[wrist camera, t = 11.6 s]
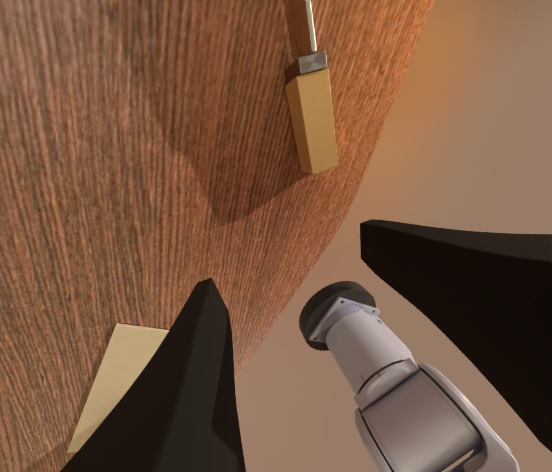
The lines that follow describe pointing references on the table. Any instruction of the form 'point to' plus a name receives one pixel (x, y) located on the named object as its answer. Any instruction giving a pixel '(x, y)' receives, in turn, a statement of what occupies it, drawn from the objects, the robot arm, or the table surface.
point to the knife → (309, 93)
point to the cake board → (116, 375)
